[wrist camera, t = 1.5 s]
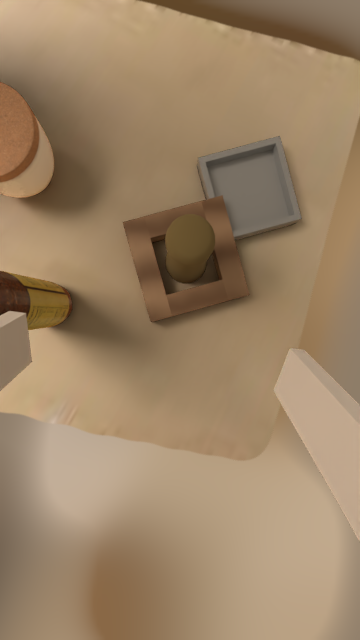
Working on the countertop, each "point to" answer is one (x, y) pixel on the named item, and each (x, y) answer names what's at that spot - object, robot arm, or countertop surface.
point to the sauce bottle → (34, 300)
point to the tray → (252, 186)
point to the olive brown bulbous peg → (188, 247)
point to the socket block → (224, 254)
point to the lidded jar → (22, 148)
